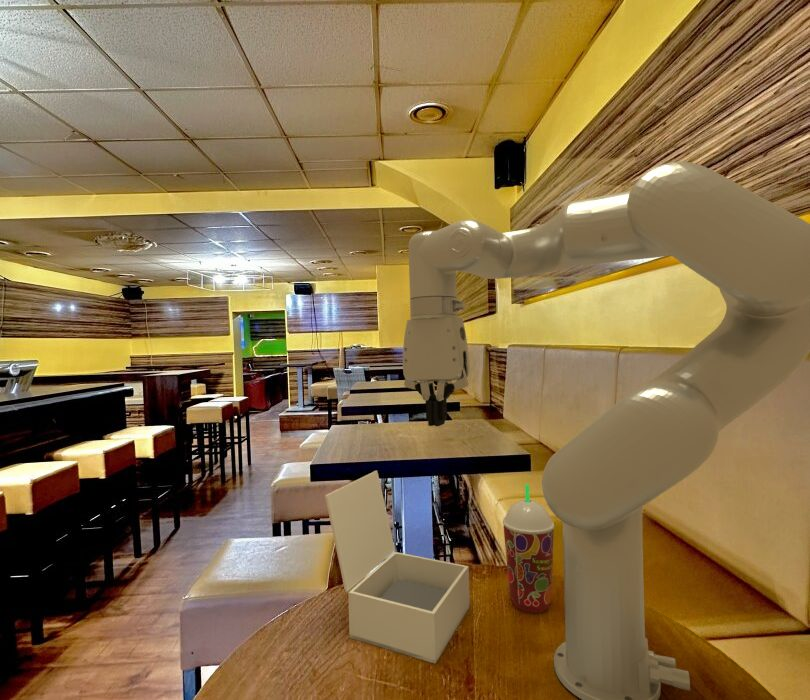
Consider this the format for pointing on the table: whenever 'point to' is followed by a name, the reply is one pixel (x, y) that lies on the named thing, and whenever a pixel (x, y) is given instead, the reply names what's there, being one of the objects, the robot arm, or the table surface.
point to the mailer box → (410, 605)
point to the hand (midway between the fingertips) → (436, 424)
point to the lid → (359, 527)
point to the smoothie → (529, 554)
